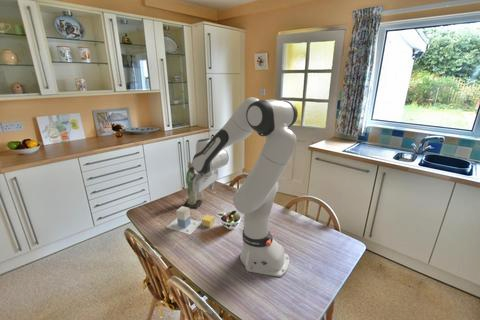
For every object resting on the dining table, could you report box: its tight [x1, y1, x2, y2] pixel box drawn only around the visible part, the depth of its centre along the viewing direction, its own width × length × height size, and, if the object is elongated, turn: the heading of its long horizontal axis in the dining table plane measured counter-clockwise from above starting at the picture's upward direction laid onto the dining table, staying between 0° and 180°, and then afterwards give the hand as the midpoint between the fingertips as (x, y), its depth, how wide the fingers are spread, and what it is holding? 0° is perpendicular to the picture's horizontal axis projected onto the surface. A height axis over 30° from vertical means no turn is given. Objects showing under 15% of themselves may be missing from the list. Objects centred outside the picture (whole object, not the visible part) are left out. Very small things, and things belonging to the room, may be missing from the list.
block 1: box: [175, 205, 191, 220], centre depth 131 cm, size 5×5×5 cm
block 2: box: [176, 215, 191, 228], centre depth 133 cm, size 5×5×5 cm
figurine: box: [182, 161, 203, 210], centre depth 151 cm, size 10×10×30 cm
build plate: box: [166, 218, 202, 235], centre depth 134 cm, size 16×12×1 cm
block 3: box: [201, 214, 216, 228], centre depth 134 cm, size 5×5×5 cm
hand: (206, 193), depth 128 cm, fingers open, 8 cm apart
